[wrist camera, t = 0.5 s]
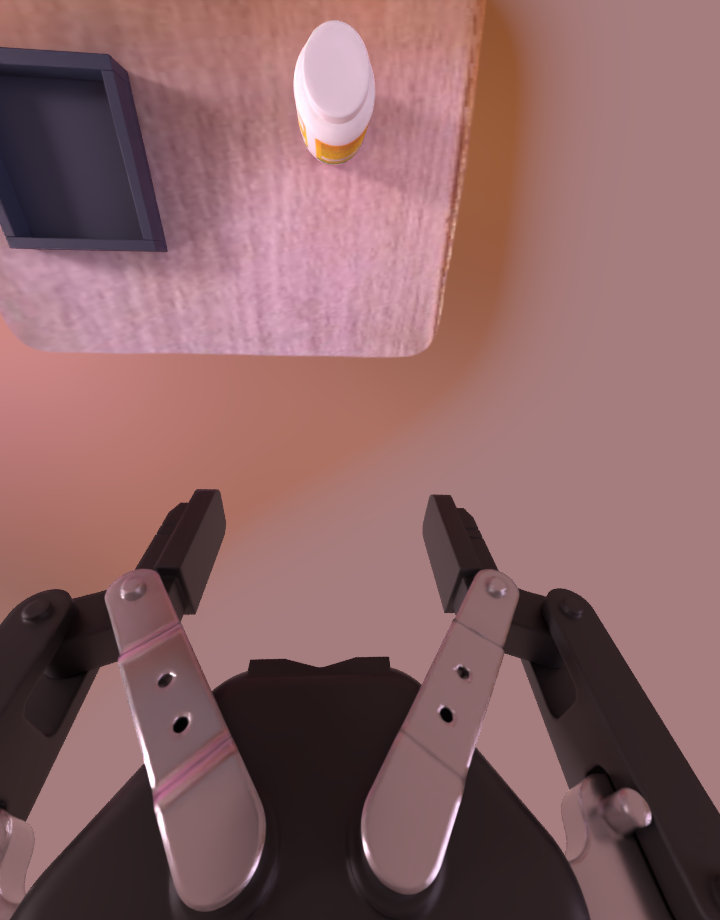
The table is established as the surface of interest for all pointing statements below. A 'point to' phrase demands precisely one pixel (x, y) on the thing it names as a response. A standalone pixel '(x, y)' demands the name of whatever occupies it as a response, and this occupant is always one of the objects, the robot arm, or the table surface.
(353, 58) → the supplement bottle
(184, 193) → the table surface
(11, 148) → the tray
